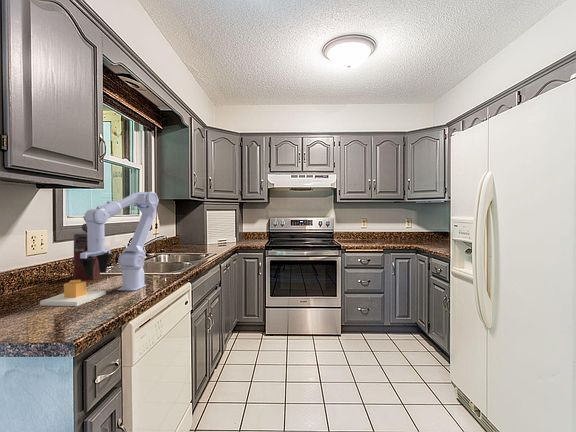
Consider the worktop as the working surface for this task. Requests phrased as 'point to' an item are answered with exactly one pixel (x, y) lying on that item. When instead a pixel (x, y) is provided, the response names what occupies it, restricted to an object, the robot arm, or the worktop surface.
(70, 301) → the plate
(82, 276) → the glass decanter
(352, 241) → the worktop surface
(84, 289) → the orange cube with dome
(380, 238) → the worktop surface
